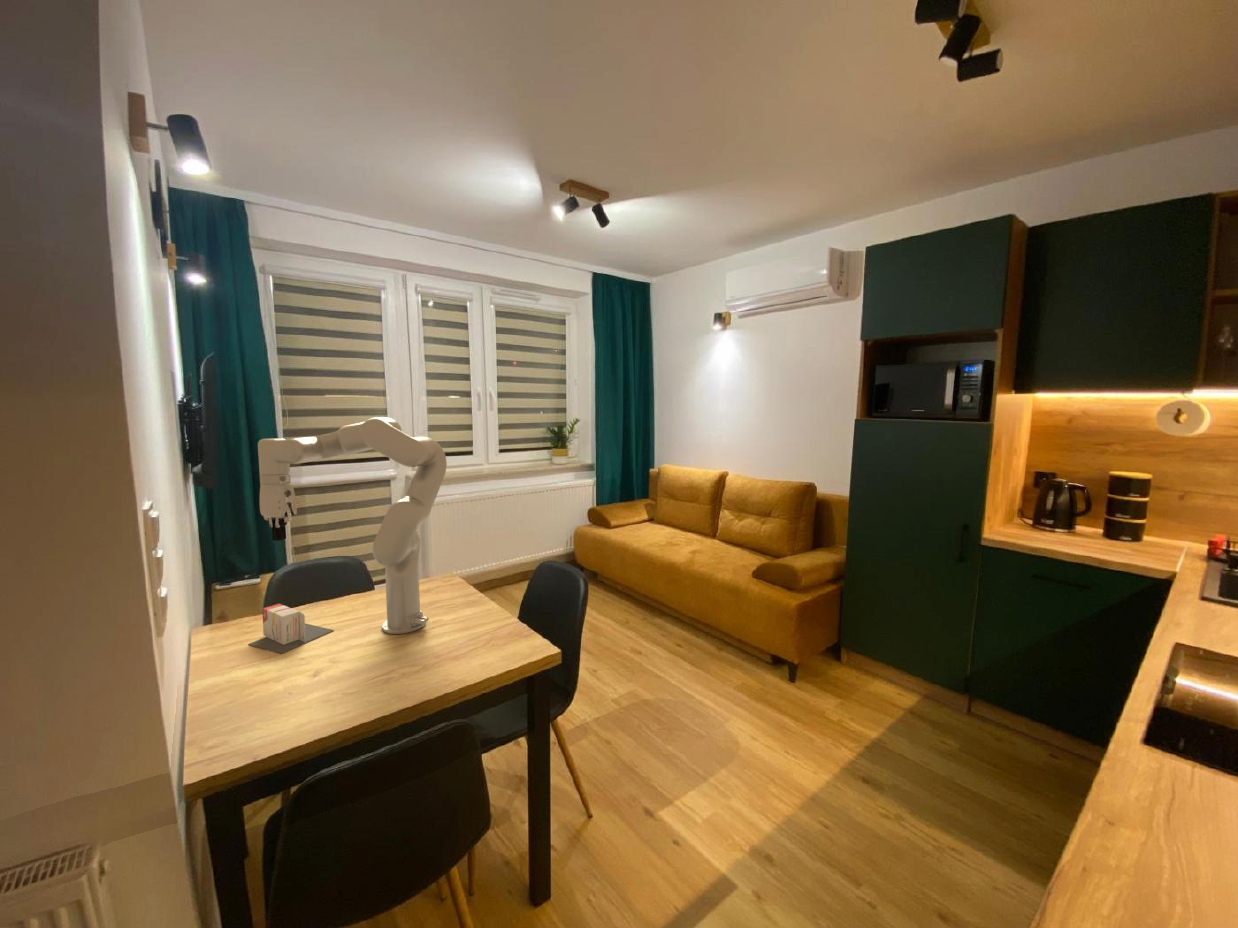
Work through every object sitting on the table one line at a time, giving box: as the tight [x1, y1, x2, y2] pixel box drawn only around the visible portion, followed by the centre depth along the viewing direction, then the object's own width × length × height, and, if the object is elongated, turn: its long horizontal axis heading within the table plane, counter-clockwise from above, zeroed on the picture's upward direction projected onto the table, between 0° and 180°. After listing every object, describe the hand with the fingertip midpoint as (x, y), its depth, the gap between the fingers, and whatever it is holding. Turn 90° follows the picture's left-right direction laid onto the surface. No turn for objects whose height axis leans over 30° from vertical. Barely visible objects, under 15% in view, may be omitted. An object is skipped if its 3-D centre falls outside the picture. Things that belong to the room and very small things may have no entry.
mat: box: [247, 622, 335, 655], centre depth 147 cm, size 14×16×1 cm
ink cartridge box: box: [261, 603, 306, 645], centre depth 145 cm, size 9×5×15 cm
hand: (279, 539), depth 150 cm, fingers closed
